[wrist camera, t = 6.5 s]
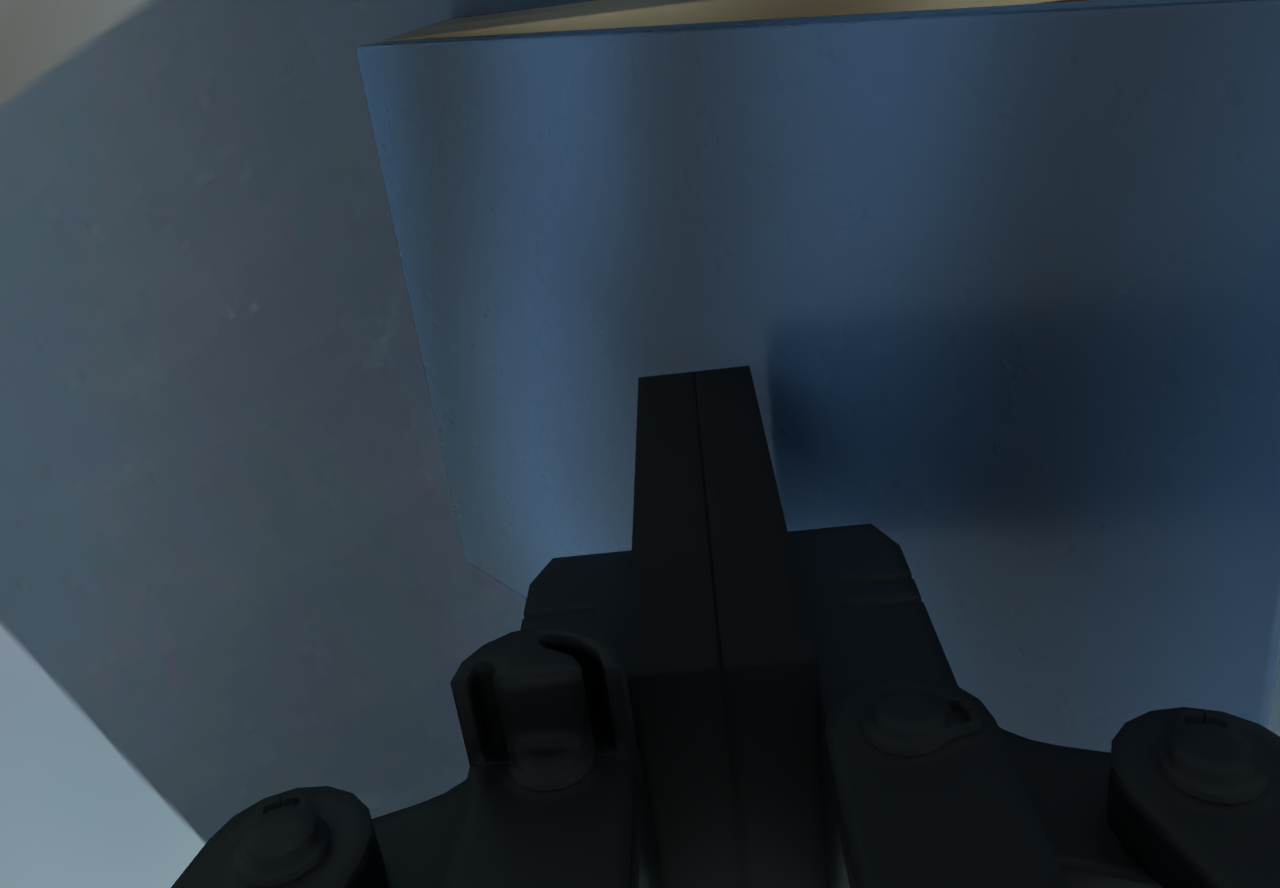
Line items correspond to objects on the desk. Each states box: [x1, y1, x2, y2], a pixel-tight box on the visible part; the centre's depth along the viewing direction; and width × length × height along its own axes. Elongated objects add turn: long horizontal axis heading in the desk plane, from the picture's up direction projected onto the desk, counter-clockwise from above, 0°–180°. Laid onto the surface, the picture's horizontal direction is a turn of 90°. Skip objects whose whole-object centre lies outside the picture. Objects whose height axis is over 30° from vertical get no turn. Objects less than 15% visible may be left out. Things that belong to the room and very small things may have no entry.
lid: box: [356, 0, 1280, 753], centre depth 16 cm, size 16×11×1 cm
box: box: [381, 0, 1093, 42], centre depth 26 cm, size 16×11×8 cm
